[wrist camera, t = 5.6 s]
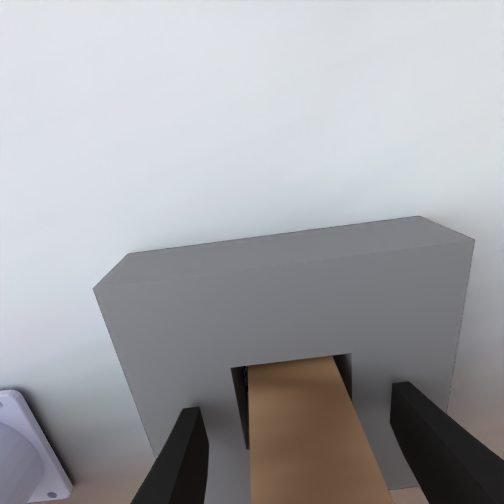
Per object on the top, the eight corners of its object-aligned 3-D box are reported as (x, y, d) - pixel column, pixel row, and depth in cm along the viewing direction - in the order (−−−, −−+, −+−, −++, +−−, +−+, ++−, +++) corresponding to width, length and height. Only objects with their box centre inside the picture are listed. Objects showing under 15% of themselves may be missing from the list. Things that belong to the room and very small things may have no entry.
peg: (255, 377, 14) (269, 627, 7) (246, 324, 13) (252, 557, 6) (318, 369, 14) (399, 613, 7) (315, 315, 13) (408, 539, 6)
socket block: (196, 477, 17) (148, 823, 8) (127, 253, 12) (-182, 559, 3) (398, 453, 17) (562, 784, 8) (419, 215, 12) (929, 433, 3)
